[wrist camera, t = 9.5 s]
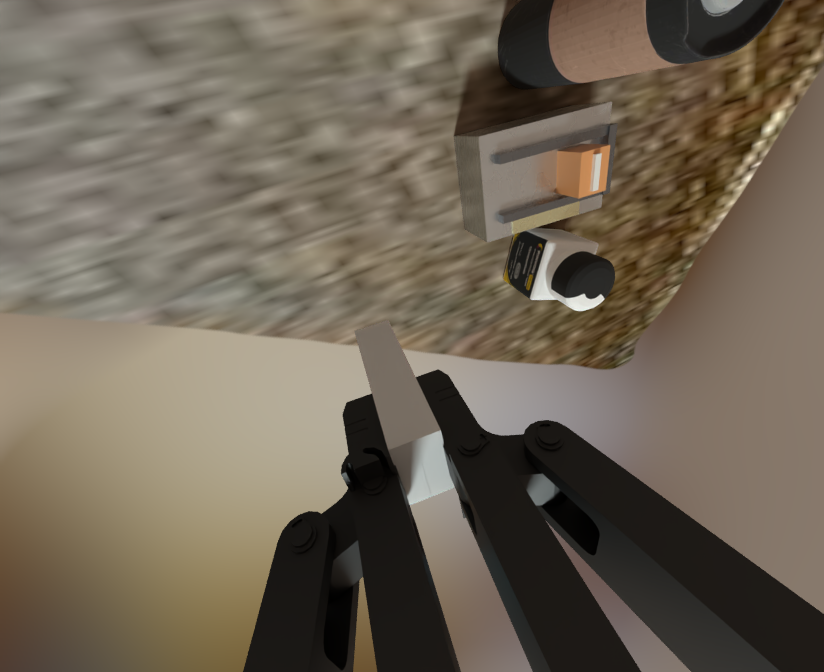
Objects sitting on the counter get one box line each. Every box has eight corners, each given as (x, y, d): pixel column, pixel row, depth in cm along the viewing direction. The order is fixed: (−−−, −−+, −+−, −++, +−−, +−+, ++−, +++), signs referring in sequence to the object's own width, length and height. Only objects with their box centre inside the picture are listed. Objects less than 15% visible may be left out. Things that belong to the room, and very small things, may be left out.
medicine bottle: (514, 226, 43) (579, 254, 33) (561, 228, 45) (635, 255, 35) (501, 279, 47) (556, 319, 37) (545, 280, 49) (608, 317, 39)
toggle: (557, 151, 34) (584, 153, 31) (584, 143, 34) (613, 144, 31) (556, 193, 36) (581, 199, 33) (581, 185, 36) (608, 191, 33)
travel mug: (557, -24, 32) (838, -191, 15) (568, 72, 36) (796, 22, 20) (485, 15, 32) (689, -112, 15) (504, 106, 36) (679, 84, 20)
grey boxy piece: (453, 136, 36) (484, 136, 30) (570, 105, 38) (621, 100, 32) (464, 229, 42) (492, 245, 36) (566, 198, 43) (609, 209, 37)
